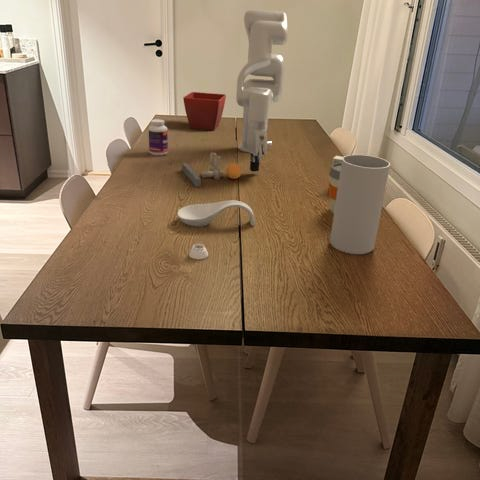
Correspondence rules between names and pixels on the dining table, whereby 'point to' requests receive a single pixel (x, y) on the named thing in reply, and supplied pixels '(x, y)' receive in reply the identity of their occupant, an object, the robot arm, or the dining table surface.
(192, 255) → the white jar
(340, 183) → the cylinder vase
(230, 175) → the ball
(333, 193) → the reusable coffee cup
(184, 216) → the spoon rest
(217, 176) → the back left pin
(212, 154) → the back right pin
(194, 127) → the plant pot
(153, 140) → the pill bottle
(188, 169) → the back wall
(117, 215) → the dining table surface
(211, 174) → the front pin
